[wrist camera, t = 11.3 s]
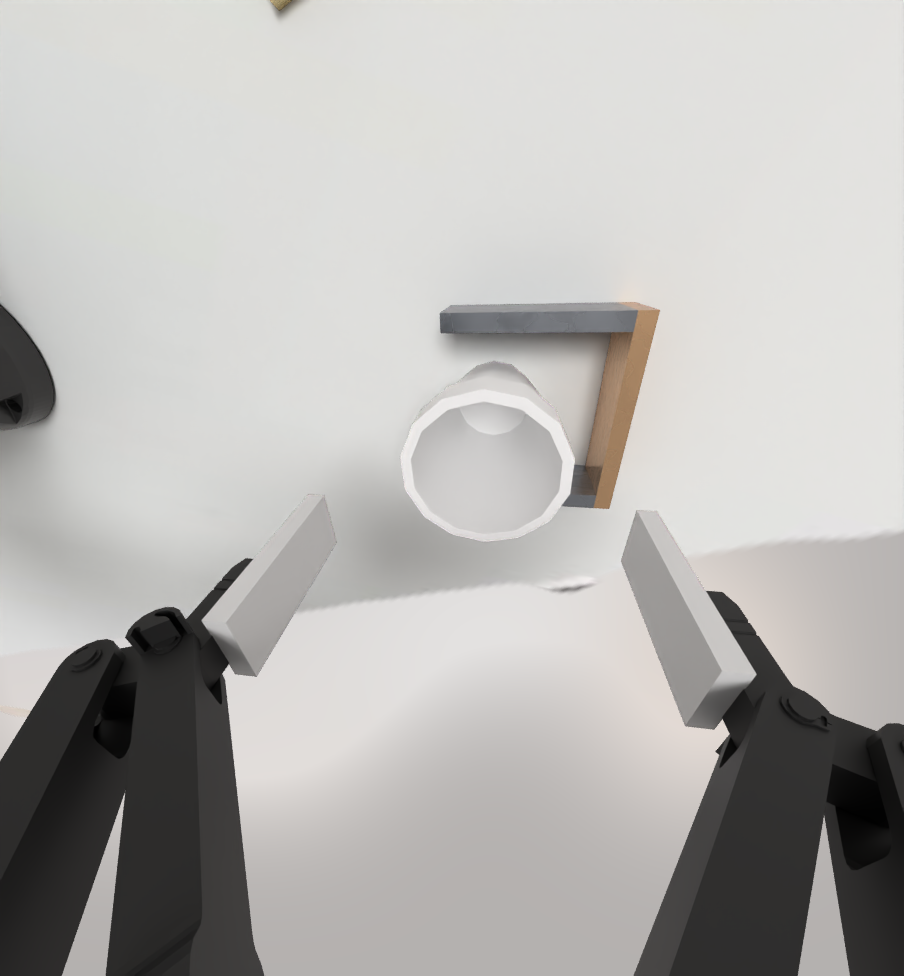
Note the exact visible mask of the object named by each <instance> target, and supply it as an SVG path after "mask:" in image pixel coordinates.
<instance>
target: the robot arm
mask: <svg viewBox="0 0 904 976" xmlns="http://www.w3.org/2000/svg"><path fill="white" fill-rule="evenodd" d="M52 405H53V387H52V382H51V379H50V376H49V373H48V370H47V368H46V366H45V364H44V362H43V360H42V358H41V356H40V354H39V353H38V351H37V349H36V348H35V346H34V345H33V343H32V342H31V340H30V339H29V337H28V336H27V335H26V334H25V332H24V331H23V330H22V328H21V327H20V326H19V325H18V324H17V323H16V321H15V320H14V319H13V318H12V317H11V316H10V315H9V314H8V313H7V312H6V311H5V310H4V309H3V308H2V307H1V306H0V430H10V429H15V428H18V427H21V426H25V425H28V424H31V423H34V422H37V421H39V420H41V419H43V418H45V417H46V416H47V415H48V413H49V412H50V410H51V408H52ZM336 543H337V541H336V537H335V534H334V530H333V526H332V522H331V519H330V515H329V511H328V507H327V503H326V500H325V496H324V495H312V494H308V495H307V496H306V497H305V498H304V500H303V501H302V502H301V503H300V504H299V506H298V507H297V508H296V509H295V510H294V511H293V513H292V514H291V515H290V516H289V517H288V519H287V520H286V521H285V522H284V523H283V524H282V526H281V527H280V528H279V529H278V530H277V532H276V533H275V534H274V535H273V536H272V537H271V539H270V540H269V541H268V542H267V543H266V545H265V546H264V547H263V548H262V549H261V551H260V552H259V553H258V554H257V555H256V556H255V558H254V559H248V558H245V559H244V560H243V561H241V562H240V563H238V564H237V565H235V566H234V567H232V568H231V569H230V571H229V572H228V573H227V574H226V575H225V576H224V577H223V578H222V581H220V582H219V583H218V584H217V585H216V586H215V587H214V590H212V591H211V592H210V593H209V594H208V595H207V596H206V598H205V599H204V600H203V601H202V602H201V603H200V604H199V605H198V607H197V608H196V609H195V610H194V611H193V612H192V613H191V614H190V616H189V617H188V618H187V619H185V618H184V616H183V615H182V613H181V612H180V610H179V609H176V608H174V607H165V608H161V609H158V610H155V611H153V612H151V613H148V614H146V615H145V616H143V617H142V618H140V619H139V620H138V621H136V622H135V623H134V624H133V625H132V627H131V628H130V629H129V630H128V632H127V635H126V637H125V638H126V639H127V640H128V641H129V642H130V644H131V645H132V646H131V647H126V648H121V649H120V648H119V647H118V646H117V645H116V644H115V643H114V641H112V640H108V639H104V640H97V641H94V642H92V643H89V644H86V645H85V646H83V647H81V648H79V649H78V650H76V651H74V652H73V653H72V654H71V655H70V656H68V657H67V658H66V659H65V660H64V661H63V662H62V663H61V665H60V666H59V667H58V669H57V670H56V672H55V673H54V675H53V677H52V678H51V680H50V682H49V683H48V685H47V686H46V688H45V690H44V691H43V693H42V694H41V696H40V698H39V699H38V701H37V703H36V704H35V706H34V707H33V709H32V711H31V712H30V714H29V715H28V717H27V719H26V720H25V722H24V724H23V725H22V727H21V729H20V730H19V732H18V733H17V735H16V737H15V738H14V740H13V741H12V743H11V745H10V746H9V748H8V749H7V751H6V753H5V754H4V756H3V758H2V759H1V761H0V976H62V973H63V970H64V967H65V964H66V962H67V959H68V956H69V953H70V950H71V947H72V944H73V941H74V938H75V935H76V932H77V930H78V927H79V924H80V921H81V918H82V915H83V912H84V909H85V906H86V903H87V901H88V898H89V894H90V892H91V889H92V886H93V883H94V880H95V877H96V874H97V871H98V868H99V866H100V863H101V860H102V857H103V854H104V851H105V848H106V845H107V842H108V839H109V837H110V833H111V831H112V828H113V825H114V822H115V819H116V816H117V813H118V810H119V807H120V805H121V802H122V799H123V796H124V793H125V801H124V810H123V819H122V828H121V837H120V847H119V856H118V866H117V875H116V884H115V893H114V903H113V913H112V921H111V922H112V923H111V931H110V941H109V949H108V959H107V968H106V976H264V973H263V969H262V965H261V963H260V960H259V958H258V955H257V953H256V950H255V946H254V942H253V935H252V928H251V919H250V918H251V917H250V908H249V899H248V890H247V880H246V871H245V862H244V852H243V843H242V834H241V824H240V815H239V806H238V796H237V787H236V778H235V769H234V759H233V750H232V741H231V731H230V722H229V713H228V703H227V695H226V685H225V679H224V677H223V675H222V673H223V671H224V670H225V668H226V667H227V666H228V664H229V665H230V666H231V668H232V670H233V671H234V673H235V674H238V675H247V676H255V677H257V675H258V674H259V672H260V670H261V669H262V667H263V665H264V664H265V662H266V660H267V659H268V657H269V655H270V654H271V652H272V650H273V649H274V647H275V645H276V644H277V642H278V640H279V639H280V637H281V635H282V634H283V632H284V630H285V628H286V627H287V625H288V623H289V622H290V620H291V618H292V617H293V615H294V613H295V612H296V610H297V608H298V607H299V605H300V603H301V602H302V600H303V598H304V597H305V595H306V593H307V592H308V590H309V588H310V587H311V585H312V583H313V582H314V580H315V578H316V577H317V575H318V573H319V572H320V570H321V568H322V567H323V565H324V563H325V561H326V560H327V558H328V556H329V555H330V553H331V551H332V550H333V548H334V546H335V545H336ZM621 562H622V565H623V568H624V570H625V573H626V575H627V578H628V580H629V583H630V585H631V588H632V591H633V593H634V596H635V598H636V601H637V603H638V606H639V609H640V611H641V614H642V616H643V619H644V622H645V624H646V627H647V629H648V632H649V634H650V637H651V639H652V642H653V645H654V647H655V650H656V653H657V655H658V658H659V660H660V663H661V665H662V668H663V670H664V673H665V676H666V678H667V681H668V683H669V686H670V689H671V691H672V693H673V696H674V699H675V701H676V704H677V706H678V709H679V712H680V714H681V717H682V719H683V722H684V724H685V726H688V727H697V728H706V729H715V728H716V727H717V725H718V724H719V723H720V721H721V720H722V719H723V721H724V723H725V725H726V727H727V729H728V731H729V733H730V735H729V736H728V737H727V738H726V739H725V741H724V742H723V743H722V744H721V746H720V747H719V748H718V749H717V750H716V753H718V754H719V758H718V760H717V763H716V766H715V768H714V771H713V773H712V776H711V779H710V781H709V784H708V786H707V789H706V791H705V794H704V796H703V799H702V801H701V804H700V807H699V809H698V812H697V814H696V817H695V820H694V822H693V825H692V827H691V830H690V832H689V835H688V837H687V840H686V843H685V845H684V848H683V850H682V853H681V855H680V858H679V860H678V863H677V866H676V868H675V871H674V873H673V876H672V878H671V881H670V884H669V886H668V889H667V891H666V894H665V896H664V899H663V902H662V904H661V907H660V909H659V912H658V914H657V917H656V919H655V922H654V925H653V927H652V930H651V932H650V935H649V937H648V940H647V943H646V945H645V948H644V950H643V953H642V955H641V958H640V961H639V963H638V966H637V968H636V971H635V973H634V976H798V969H799V964H800V957H801V952H802V945H803V939H804V933H805V927H806V921H807V915H808V909H809V903H810V896H811V890H812V885H813V878H814V872H815V866H816V860H817V854H818V848H819V842H820V836H821V830H822V824H823V818H824V816H825V822H826V828H827V835H828V841H829V847H830V853H831V860H832V866H833V872H834V878H835V884H836V891H837V897H838V903H839V909H840V916H841V922H842V928H843V935H844V941H845V947H846V953H847V960H848V966H849V972H850V976H904V725H902V724H897V723H896V724H895V723H894V724H886V725H885V726H883V727H882V728H881V729H879V730H878V731H875V730H872V729H869V728H866V727H864V726H861V725H858V724H855V723H853V722H850V721H847V720H844V719H842V718H839V717H836V716H834V715H832V714H830V713H829V711H828V710H827V709H826V708H825V707H824V706H823V705H822V704H821V703H820V702H819V701H818V700H816V699H814V698H813V697H812V696H810V695H809V694H808V693H806V692H805V691H802V690H800V689H798V688H796V687H793V685H792V684H791V683H790V682H789V680H788V679H787V677H786V676H785V674H784V673H783V671H782V670H781V669H780V667H779V665H778V664H777V662H776V661H775V660H774V658H773V657H772V655H771V654H770V652H769V651H768V649H767V648H766V646H765V645H764V643H763V642H762V640H761V639H760V637H759V636H757V635H756V631H755V630H754V629H753V627H752V626H751V624H750V623H748V620H747V618H746V617H745V615H744V614H743V612H742V611H741V610H740V608H739V607H738V605H737V604H736V603H734V602H733V601H732V600H731V599H730V598H728V597H727V596H726V595H725V594H724V593H723V592H714V591H705V589H704V587H703V586H702V584H701V582H700V581H699V579H698V577H697V576H696V574H695V573H694V571H693V569H692V568H691V566H690V564H689V563H688V561H687V559H686V558H685V556H684V554H683V553H682V551H681V550H680V548H679V546H678V545H677V543H676V541H675V540H674V538H673V536H672V535H671V533H670V532H669V530H668V528H667V527H666V525H665V523H664V522H663V520H662V518H661V517H660V515H659V514H658V512H657V511H644V510H637V511H636V514H635V517H634V520H633V524H632V527H631V530H630V533H629V536H628V540H627V543H626V546H625V549H624V553H623V556H622V559H621ZM125 790H126V791H125Z"/></svg>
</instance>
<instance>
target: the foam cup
mask: <svg viewBox="0 0 904 976" xmlns="http://www.w3.org/2000/svg"><path fill="white" fill-rule="evenodd" d="M400 460H401V467H402V473H403V480H404V486H405V490H406V492H407V493H408V495H409V496H410V498H411V499H412V500H413V502H414V503H415V505H416V506H417V508H418V509H419V511H420V512H421V513H422V515H423V516H424V517H425V518H427V519H428V520H430V521H431V522H433V523H435V524H436V525H438V526H439V527H441V528H442V529H444V530H445V531H447V532H448V533H450V534H452V535H456V536H460V537H465V538H469V539H474V540H478V541H483V542H490V541H498V540H506V539H513V538H520V537H522V536H524V535H525V534H527V533H529V532H531V531H533V530H535V529H536V528H538V527H540V526H542V525H544V524H546V523H548V522H549V521H550V520H551V519H552V518H553V516H554V515H555V514H556V512H557V511H558V510H559V508H560V507H561V506H562V504H563V503H564V502H565V500H566V499H567V497H568V496H569V495H570V491H571V484H572V477H573V470H574V463H575V458H574V455H573V452H572V449H571V446H570V442H569V440H568V437H567V435H566V432H565V430H564V428H563V425H562V423H561V420H560V418H559V416H558V413H557V411H556V408H555V407H554V406H552V405H551V404H550V403H549V402H547V401H546V400H545V399H543V398H542V396H541V395H540V394H539V392H538V391H537V390H536V388H535V387H534V386H533V385H532V383H531V382H530V381H529V379H528V378H527V377H526V376H525V375H524V374H523V373H522V372H520V371H519V370H518V369H517V368H515V367H514V366H513V365H512V364H507V363H502V362H498V361H492V362H488V363H484V364H481V365H477V366H476V367H475V368H473V369H472V370H471V371H470V372H469V373H468V374H467V375H465V376H464V377H463V378H462V379H461V380H460V381H458V382H457V383H456V384H453V385H449V386H448V387H446V388H445V389H444V390H443V391H442V392H441V393H440V394H438V395H437V396H436V397H435V398H434V399H433V400H432V401H430V402H429V403H428V404H427V405H426V406H425V407H424V408H422V409H421V411H420V413H419V414H418V416H417V418H416V419H415V421H414V422H413V424H412V426H411V429H410V432H409V434H408V437H407V440H406V442H405V445H404V448H403V451H402V453H401V456H400Z"/></svg>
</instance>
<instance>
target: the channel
mask: <svg viewBox="0 0 904 976" xmlns="http://www.w3.org/2000/svg"><path fill="white" fill-rule="evenodd" d="M659 312H660V310H658V309H655V308H652V307H649V306H646V305H642V304H639V303H636V302H625V303H564V304H504V305H451V306H449V307H448V308H446V309H445V310H443V311H442V312H441V313H440V330H441V333H561V332H612V333H611V338H610V343H609V348H608V353H607V358H606V363H605V368H604V373H603V379H602V384H601V389H600V394H599V399H598V404H597V409H596V414H595V419H594V424H593V429H592V435H591V440H590V445H589V450H588V455H587V460H586V465H585V466H583V465H574V470H573V477H572V484H571V491H570V495H569V496H568V497H567V499H566V500H565V502H564V503H563V504H562V506H568V507H585V508H603V509H609V507H610V503H611V500H612V496H613V492H614V488H615V484H616V480H617V476H618V472H619V468H620V464H621V460H622V457H623V453H624V449H625V445H626V441H627V437H628V433H629V429H630V425H631V421H632V417H633V414H634V410H635V406H636V402H637V398H638V394H639V390H640V386H641V382H642V378H643V374H644V371H645V367H646V363H647V359H648V355H649V351H650V347H651V343H652V339H653V335H654V331H655V328H656V324H657V320H658V316H659Z"/></svg>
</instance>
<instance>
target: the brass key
mask: <svg viewBox="0 0 904 976" xmlns="http://www.w3.org/2000/svg"><path fill="white" fill-rule="evenodd" d="M270 1H271V2H272V3H273V4H274V6H275V7H276V8H277V9H278V10H279V11H280V10H281V9H282V8H284V7H285V6H286V5H287V4H288V3H290V2H291V1H292V0H270Z"/></svg>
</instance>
